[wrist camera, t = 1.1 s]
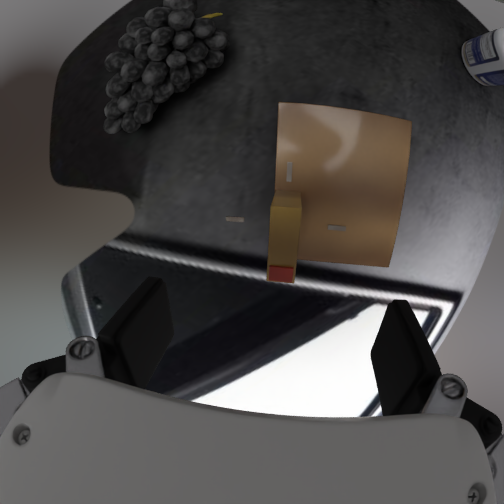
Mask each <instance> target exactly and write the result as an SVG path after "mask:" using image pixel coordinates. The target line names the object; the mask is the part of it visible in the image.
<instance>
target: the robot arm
mask: <svg viewBox="0 0 504 504" xmlns="http://www.w3.org/2000/svg"><path fill="white" fill-rule="evenodd" d="M98 335H99V336H98V338H97V339H95V338H93V337H91V336H81V337H78V338H75V339H74V340H72V341H71V342H70V343H69V344H68V346H67V348H66V355H62V356H59V357H55V358H52V359H48V360H45V361H41V362H37V363H34V364H31V365H30V366H28V367H27V368H26V369H25V370H24V372H23V374H22V379H21V380H20V379H19V378H16V379H14V380H13V381H11V382H9V383H7V384H5V385H4V386H2V387H0V504H504V434H503V435H502V433H501V432H502V424H501V421H500V419H499V418H498V417H497V416H496V415H495V414H494V413H492V412H490V411H489V410H487V409H485V408H484V407H482V406H480V405H478V404H477V403H475V402H473V401H472V400H470V399H468V398H467V392H468V390H467V386H466V384H465V382H464V381H463V380H462V379H461V378H460V377H458V376H457V375H454V374H443V375H442V374H441V371H440V367H439V365H438V362H437V360H436V358H435V355H434V353H433V351H432V349H431V347H430V345H429V343H428V340H427V338H426V336H425V334H424V332H423V330H422V328H421V326H420V324H419V322H418V320H417V318H416V316H415V314H414V312H413V311H412V309H411V307H410V305H409V303H408V301H407V300H393V301H392V303H389V304H388V306H387V309H386V312H385V315H384V318H383V321H382V323H381V326H380V329H379V332H378V334H377V337H376V339H375V342H374V345H373V347H372V350H371V361H372V365H373V369H374V374H375V378H376V383H377V388H378V392H379V397H380V402H381V408H382V413H383V416H376V417H303V416H287V415H275V414H265V413H257V412H249V411H242V410H235V409H229V408H223V407H217V406H212V405H206V404H201V403H196V402H192V401H187V400H183V399H179V398H174V397H170V396H167V395H163V394H159V393H155V392H152V391H148V390H145V388H146V386H147V384H148V382H149V380H150V378H151V377H152V375H153V373H154V371H155V369H156V367H157V365H158V364H159V362H160V360H161V358H162V356H163V355H164V353H165V351H166V349H167V347H168V345H169V344H170V342H171V340H172V338H173V336H174V327H173V322H172V316H171V311H170V305H169V299H168V292H167V286H166V283H165V282H163V280H162V279H161V278H156V277H148V278H147V279H146V280H145V281H144V282H143V283H142V284H141V285H140V286H139V287H138V288H137V290H136V291H135V292H134V293H133V294H132V295H131V296H130V297H129V299H128V300H127V301H126V302H125V303H124V304H123V305H122V306H121V308H120V309H119V310H118V311H117V312H116V313H115V315H114V316H113V317H112V318H111V319H110V320H109V322H108V323H107V324H106V325H105V326H104V327H103V329H102V330H101V331H100V332H99V333H98Z"/></svg>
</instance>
